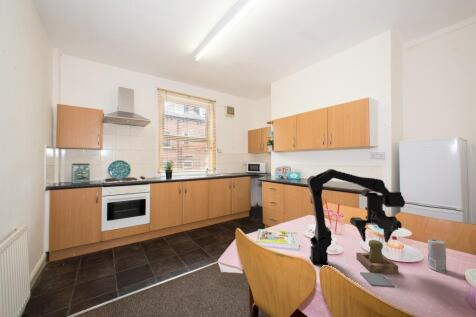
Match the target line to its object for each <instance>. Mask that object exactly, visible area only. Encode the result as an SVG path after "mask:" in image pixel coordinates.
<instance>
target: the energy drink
mask: <svg viewBox="0 0 476 317" xmlns="http://www.w3.org/2000/svg"><path fill="white" fill-rule="evenodd" d="M427 251H428V253H427V257H428V258H427V259H428V260H427V263H428V264H427V266H428V268H430V270H431V271H434V272H438V273H441V274H442V273H443V274H444V273H446V272H447V245H446V241H443V240H440V239H437V238H429V239H428V240H427Z"/></svg>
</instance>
